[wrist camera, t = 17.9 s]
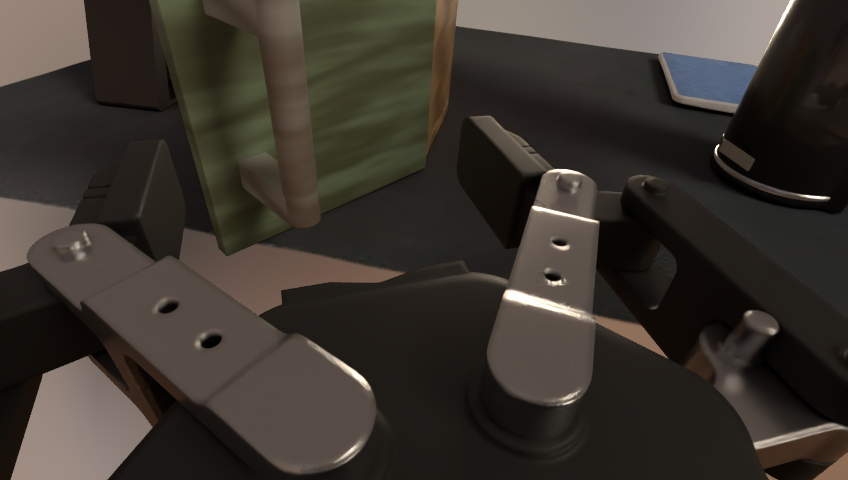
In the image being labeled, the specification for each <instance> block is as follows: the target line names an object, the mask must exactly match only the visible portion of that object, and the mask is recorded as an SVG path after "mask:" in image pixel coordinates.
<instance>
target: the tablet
mask: <svg viewBox="0 0 848 480" xmlns="http://www.w3.org/2000/svg"><path fill="white" fill-rule="evenodd" d="M658 59H659V61H660V64H661V66H662V69H663V72H664V75H665V78H666V81H667V83H668V86H669V89H670V92H671V96H672V99H673V100H674V101H676V102H678V103H681V104H686V105H690V106H695V107H700V108H705V109H710V110H716V111H722V112H727V113H735V111H736V109H737V107H738V105H739V103H740V101H741V99H742V97H743V95H744V93H745V91H746V89H747V87H748V85H749V83H750V81H751V79H752V77H753V75H754V73H755V71H756V69H757V66H754V65H749V64H741V63H734V62H728V61H721V60H714V59H707V58H700V57H692V56H685V55H679V54H672V53H661V54H659V56H658Z"/></svg>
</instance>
